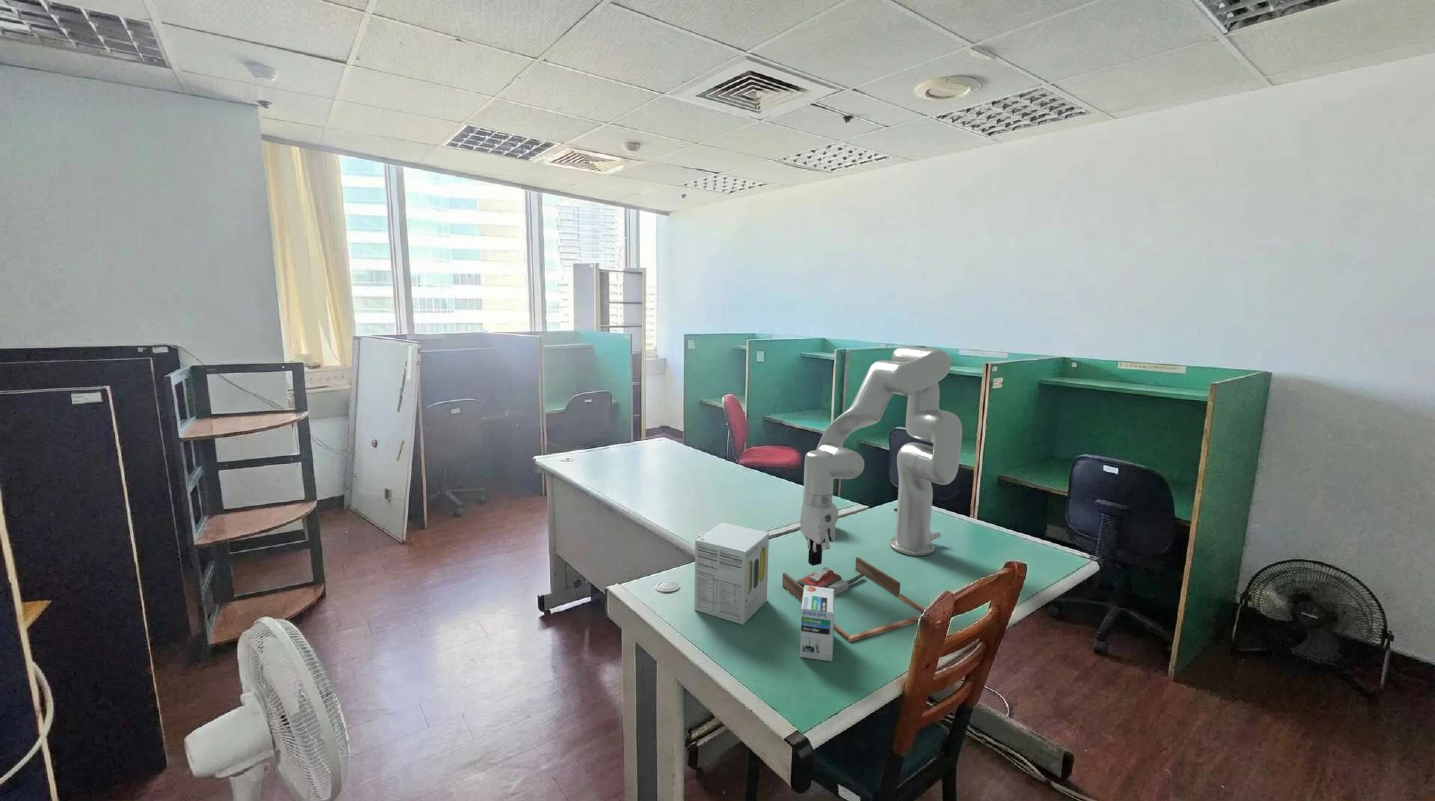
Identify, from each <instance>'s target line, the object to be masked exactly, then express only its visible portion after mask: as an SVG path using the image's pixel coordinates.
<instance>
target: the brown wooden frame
mask: <svg viewBox="0 0 1435 801" xmlns="http://www.w3.org/2000/svg"><path fill="white" fill-rule="evenodd" d="M854 570H855V571H856V572H858V573H860V574H863V575H864V576H863V577H866V578H867V579H869V580H870V581H872V582H873V583H875V584H877V585H878V586H880V587H881V588H883V589H884V590H886V591H887V592H889V593H890V594H892V595H894V596H895V597H898V598H899V599H900V600H902V601H903V602H904V603H906V604H908V605H909V606H910V607H912V608H914V609H915V610H916V611H918V612H920V613H921V614H919V615H917V616H913V617H910V618H909V617H908V618H905V619H902V620H899V621H896V622H893V623H892V622H891V623H889V624H885V625H881V626H878V627H875V628H870V629H868V630H864V631H861V632H856V633H854V634H848V632H846V631H845V630H843V629H842V628H841V627H840V626H839V625H837V624H836V623H835V622H834V632H836V633H838V634H839V635H840V636H842V638H843V639H845V640H846V641H847V642H848V643H852V642H856V641H858V640H861V639H864V638H865V639H866V638H869V637H873V636H875V635H878V634H879V635H880V634H882V633H886V632H889V631H892V630H895V629H899V628H902V627H905V626H909V625H912V624H916V623H919V622H918V619H919V618H920V616H921V615H922V614H923V612H924V610H927V609H926V608H924V607H923V606H921V605H919V604H918V603H916V602H915V601H913V600H911V599H910V598H909V597H907V596H905V595H903V594H902V593H900V591H901V582H900V581H898V580H897V579H895V578H893V577H892V576H890V575H888V574H886V573H885V572H883V571H882V570H880V569H879V568H877V567H875V566H874V565H872V564H870V563H869V562H867V561H865V560H863V559H862V558H860V557H859V556H858V557H857V556H856V557H855V568H854ZM796 581H797V580H795V579H794V578H793V577H792V576H790V575H789V574H787V573H786V572H785V573H782V583H781V586H783V587H782V588H784V589H785V588H786V589H787V590H788V591H789V592H788V591H787V590H786V589H785V590H786V591H787V592H788V593H790V594H791V593H792V594H791V595H792V596H793V595H794V596H795V597H794V596H793V597H794V598H795V599H797V598H798V599H797V600H798V601H799V602H800V601H801V602H800V603H802V599H803V591H804V587H803V586H801V585H800V584H799V583H797V582H796Z"/></svg>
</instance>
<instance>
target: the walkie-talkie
mask: <svg viewBox="0 0 1435 801" xmlns="http://www.w3.org/2000/svg"><path fill="white" fill-rule="evenodd" d="M863 577H865V576H864V575H863V574H861V573H860V574H858V575H856V576H853V577H852V578H849V579H848V580H844V579H842V576H841V575H839V574H838V573H835V572H834V570H832V569H830V568H827V567H823V568H821V569H819V570H816V571H815V572H813V573H811V574H809V575H807V576H804V577H802V578H800V579H798V580H795V581H796V582H797V583H799V584H800V585H801V586H803V587H804V586H805V585H806V586H814V587H822V588H830V589H834V590H835V591H834V595H839V594H841V593H843V592H845V591H848V590H849V586H850V585H851V584H853V583H855V582H857V581H858V580H859V579H862V578H863Z"/></svg>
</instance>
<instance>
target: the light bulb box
mask: <svg viewBox="0 0 1435 801" xmlns="http://www.w3.org/2000/svg"><path fill="white" fill-rule="evenodd" d="M834 591H835V590H834V589H830V588H822V587H814V586H806V585H805V586H804V591H803V599H802V602H801V607H800V608H801V610H800V611H801V617H800V640H799V642H800V644H799V645H800V647H799V657H800V658H806V659H812V660H818V661H825V662H826V661H827V662H833V653H834V652H833V651H834V639H835V638H834V637H835V633H834V632H835V630H834V623H835V594H834Z"/></svg>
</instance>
